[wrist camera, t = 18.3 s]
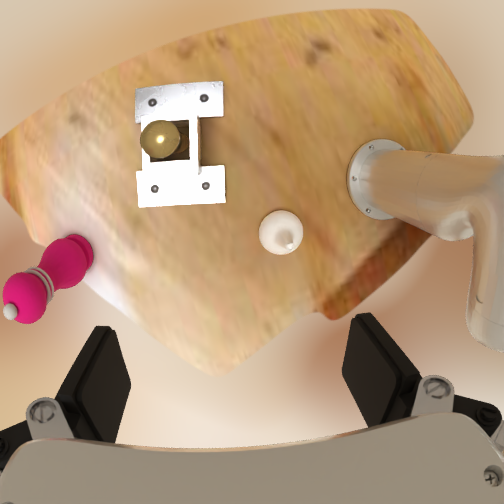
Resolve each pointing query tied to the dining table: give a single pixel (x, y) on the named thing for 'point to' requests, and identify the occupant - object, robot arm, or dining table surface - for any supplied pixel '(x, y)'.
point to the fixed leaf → (180, 101)
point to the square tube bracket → (179, 172)
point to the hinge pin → (162, 139)
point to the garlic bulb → (280, 232)
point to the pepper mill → (46, 278)
